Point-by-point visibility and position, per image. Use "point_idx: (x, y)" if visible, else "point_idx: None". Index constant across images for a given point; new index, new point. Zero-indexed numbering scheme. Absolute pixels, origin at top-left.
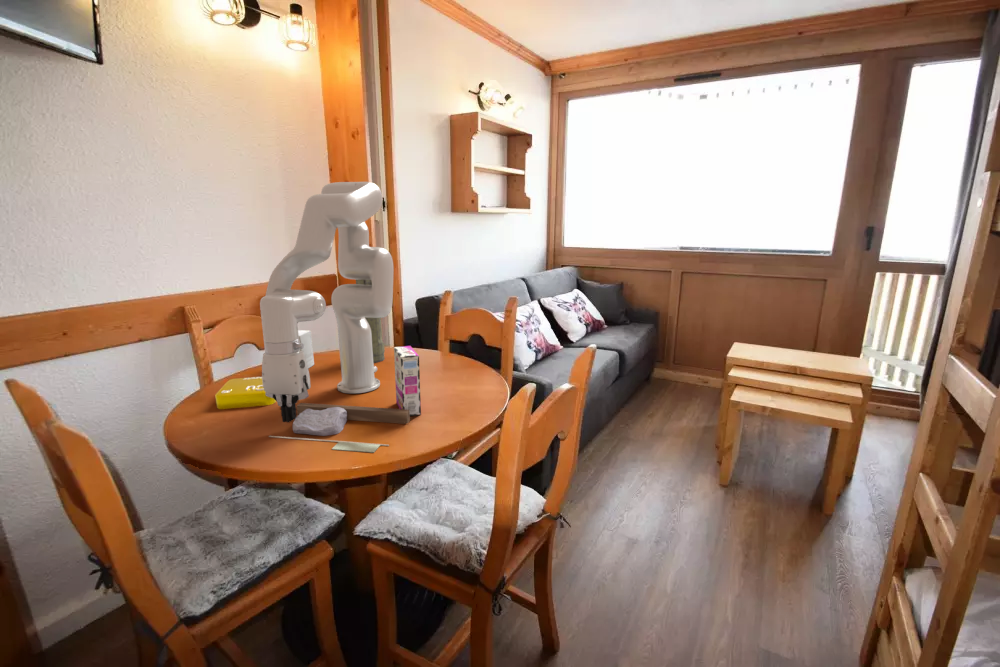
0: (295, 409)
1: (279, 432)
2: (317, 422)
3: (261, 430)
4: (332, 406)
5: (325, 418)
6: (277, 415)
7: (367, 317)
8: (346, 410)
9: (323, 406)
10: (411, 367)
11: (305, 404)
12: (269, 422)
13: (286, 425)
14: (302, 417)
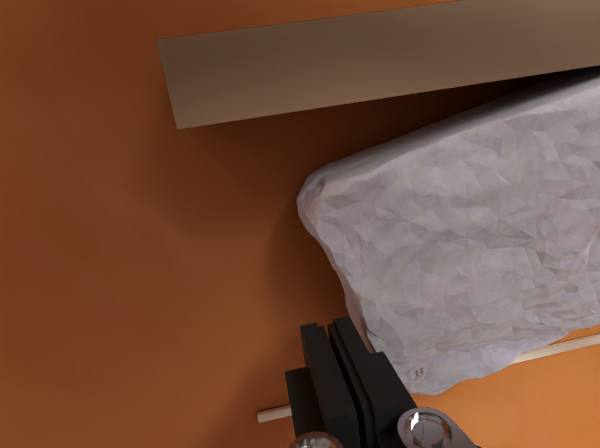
0: (402, 389)
1: (271, 360)
2: (532, 312)
3: (141, 381)
4: (538, 37)
5: (584, 275)
6: (7, 158)
7: None
8: None
9: (456, 65)
10: None
11: (244, 70)
12: (76, 280)
13: (236, 276)
14: (422, 328)
